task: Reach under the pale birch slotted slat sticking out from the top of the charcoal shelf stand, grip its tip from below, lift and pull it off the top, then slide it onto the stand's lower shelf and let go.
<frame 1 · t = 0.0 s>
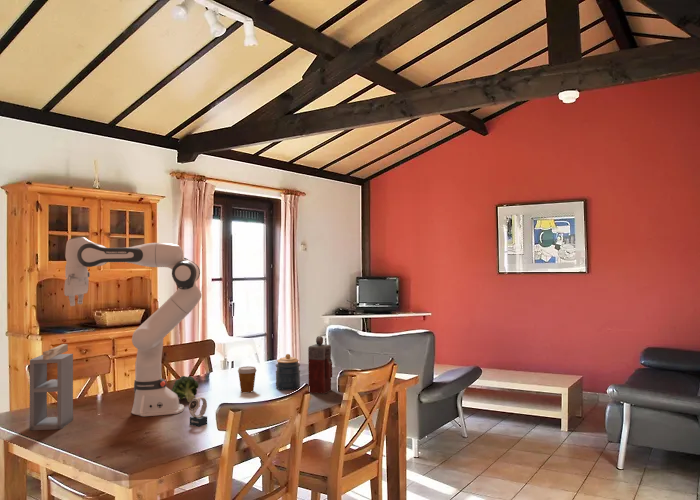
hand: (76, 305, 257), 48 cm above the table, tool pointing down, fingers open, 8 cm apart
red square decanter: (322, 391, 297), on the table
watch: (198, 425, 238), on the table
disposable coffee cup: (247, 391, 298), on the table
shelf stand: (54, 423, 241), on the table
canister: (288, 387, 306), on the table
vegetable: (187, 400, 280), on the table
slat: (55, 355, 244), point 28 cm above the table, touching shelf stand
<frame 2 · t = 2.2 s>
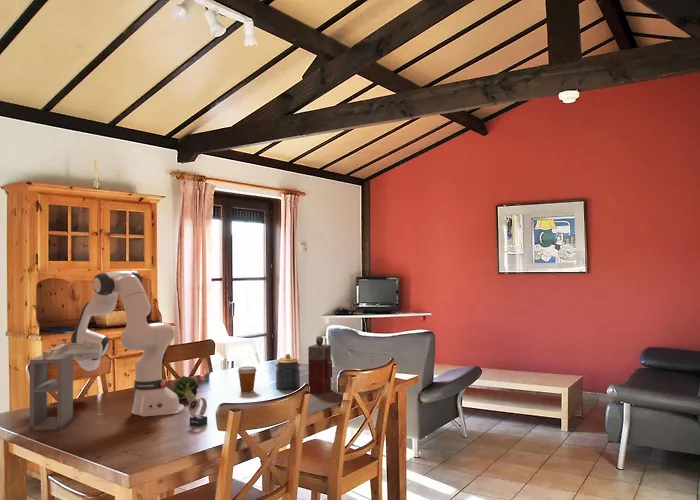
hand: (74, 342, 267), 30 cm above the table, tool pointing upward, fingers open, 8 cm apart
nothing on the table moved.
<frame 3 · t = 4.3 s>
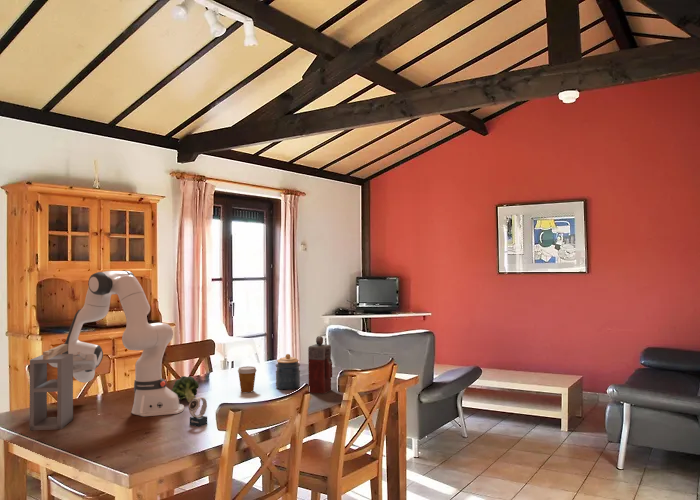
hand: (67, 353, 257), 26 cm above the table, tool pointing upward, fingers open, 8 cm apart
nothing on the table moved.
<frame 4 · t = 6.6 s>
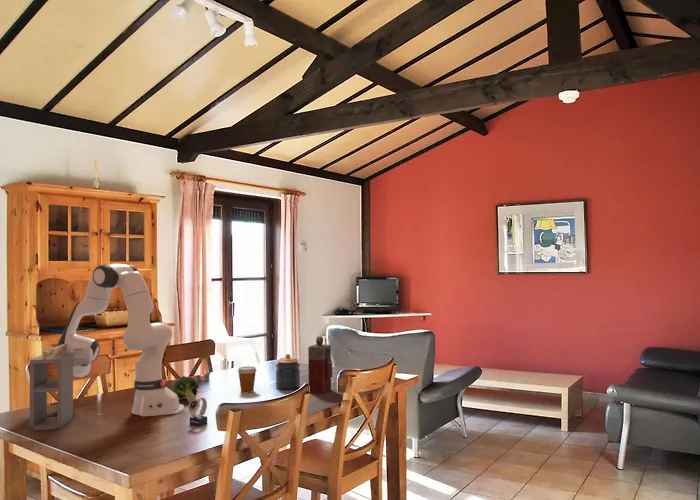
hand: (62, 347, 252), 30 cm above the table, tool pointing upward, fingers closed on slat, 2 cm apart
slat: (55, 355, 244), point 28 cm above the table, touching gripper, shelf stand
everything else where it was.
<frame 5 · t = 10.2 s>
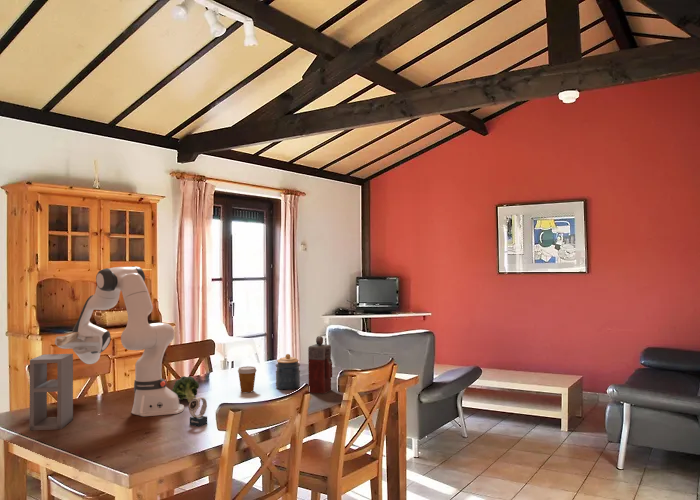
hand: (74, 335, 266), 33 cm above the table, tool pointing upward, fingers closed on slat
slat: (68, 342, 259), point 31 cm above the table, touching gripper
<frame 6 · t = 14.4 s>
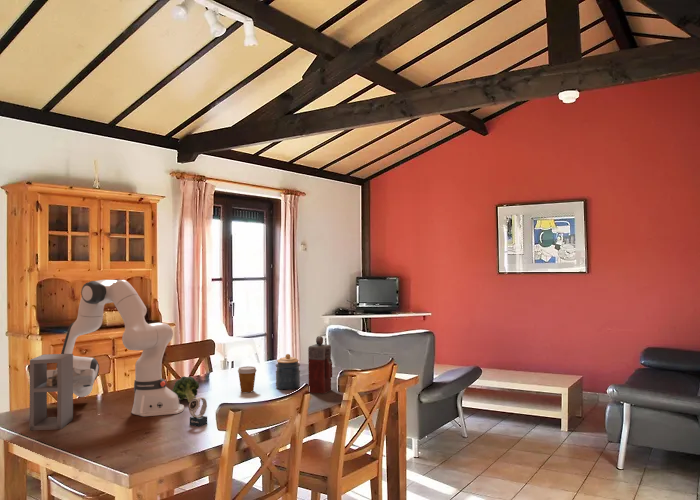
hand: (65, 369, 255), 20 cm above the table, tool pointing upward, fingers open, 5 cm apart
slat: (59, 380, 247), point 16 cm above the table, touching shelf stand
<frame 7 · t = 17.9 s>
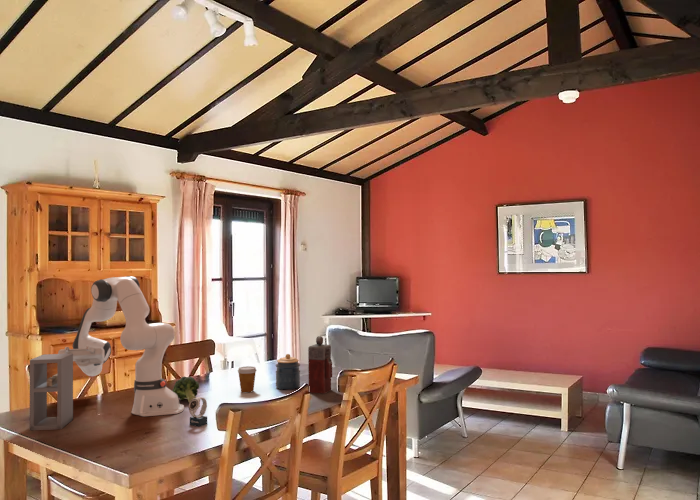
hand: (77, 348, 270), 27 cm above the table, tool pointing upward, fingers open, 8 cm apart
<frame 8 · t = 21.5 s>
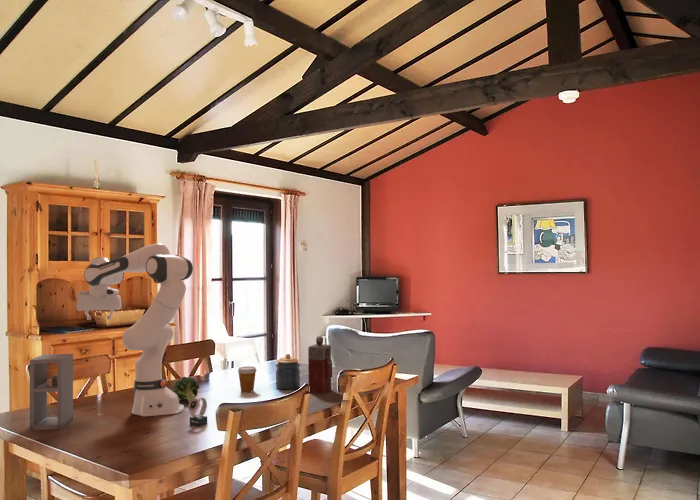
hand: (99, 319, 281), 39 cm above the table, tool pointing down, fingers open, 8 cm apart
at the end: slat inside the target area (0.1 cm from its centre), point 16.5 cm above the table; slat tilted 0°; the gripper is holding nothing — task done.
